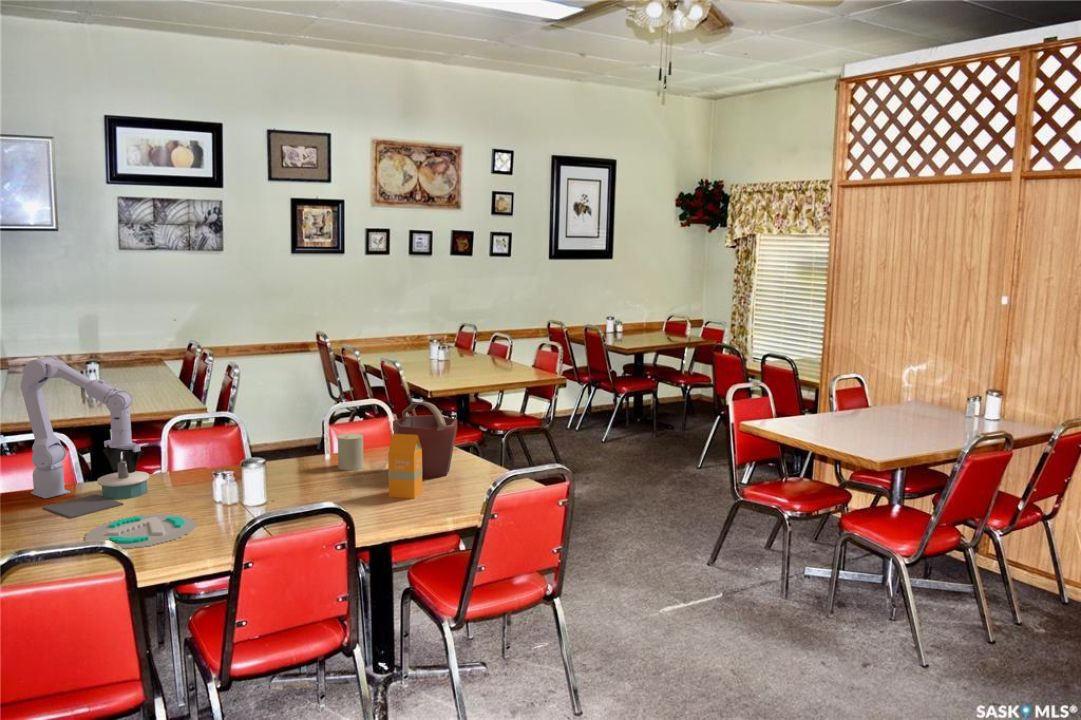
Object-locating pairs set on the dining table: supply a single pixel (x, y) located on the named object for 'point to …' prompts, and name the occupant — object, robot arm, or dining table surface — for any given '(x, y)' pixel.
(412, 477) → the orange juice
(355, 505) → the dining table surface
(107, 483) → the lid
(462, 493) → the dining table surface
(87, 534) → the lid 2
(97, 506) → the mat
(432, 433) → the bucket
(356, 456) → the can
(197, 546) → the dining table surface
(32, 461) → the robot arm
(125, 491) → the bowl
